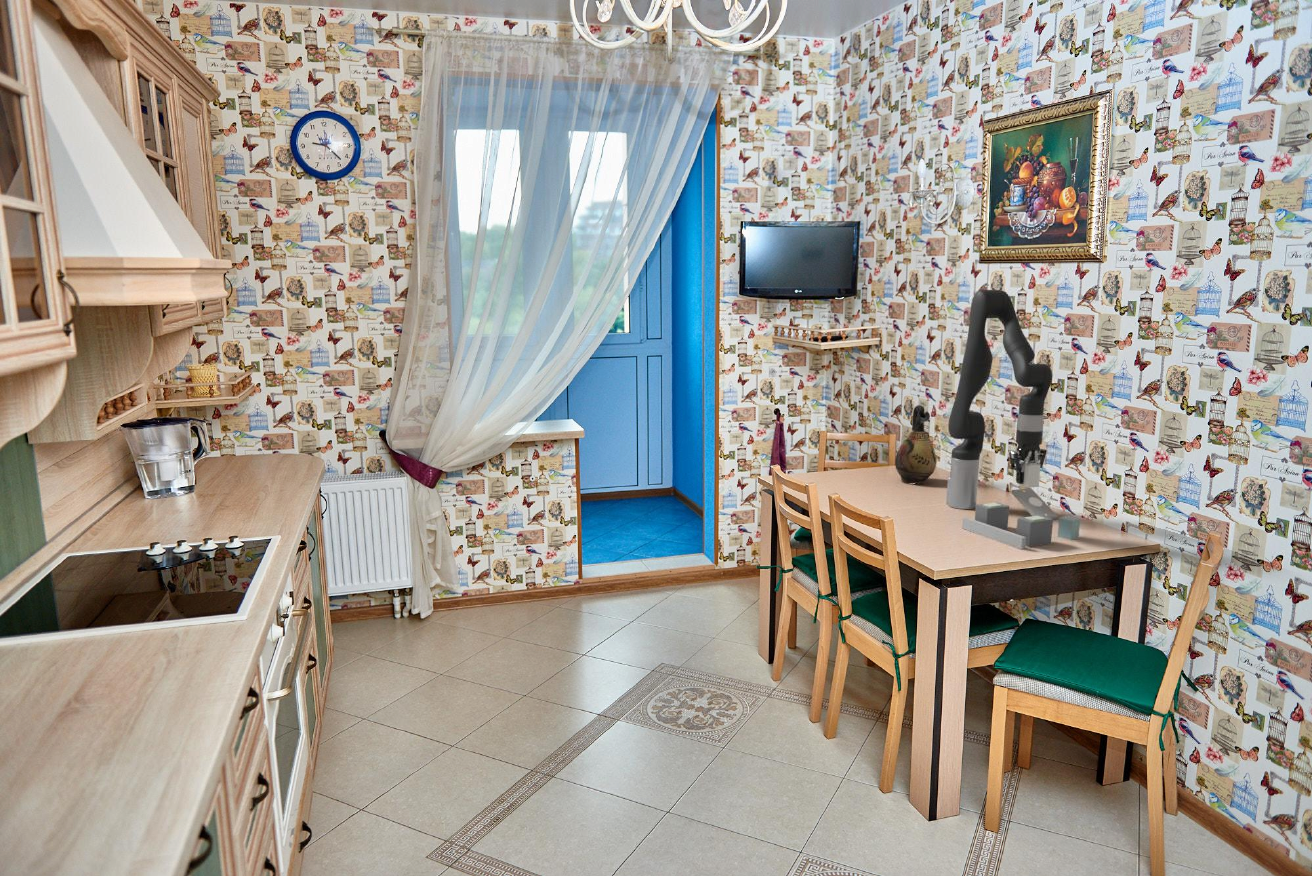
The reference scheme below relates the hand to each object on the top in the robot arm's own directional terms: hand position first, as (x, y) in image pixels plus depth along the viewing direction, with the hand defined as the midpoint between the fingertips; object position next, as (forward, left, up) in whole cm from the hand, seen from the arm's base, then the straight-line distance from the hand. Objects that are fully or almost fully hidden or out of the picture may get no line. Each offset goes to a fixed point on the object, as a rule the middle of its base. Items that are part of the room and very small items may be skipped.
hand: (1025, 482), depth 275 cm
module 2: (+11, +8, -16) cm, 21 cm away
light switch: (-13, +18, -16) cm, 27 cm away
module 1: (0, 0, -1) cm, 1 cm away
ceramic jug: (-69, +16, -16) cm, 73 cm away
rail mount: (+3, -9, -16) cm, 18 cm away
